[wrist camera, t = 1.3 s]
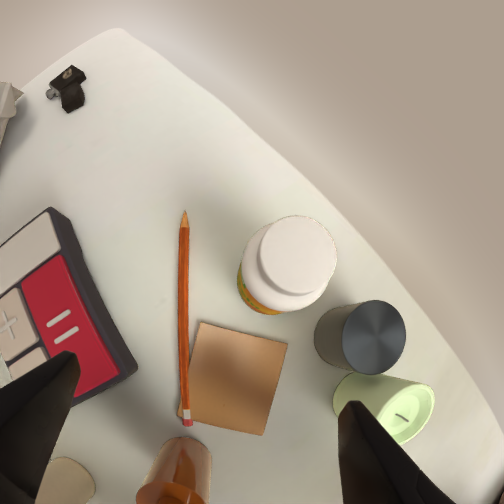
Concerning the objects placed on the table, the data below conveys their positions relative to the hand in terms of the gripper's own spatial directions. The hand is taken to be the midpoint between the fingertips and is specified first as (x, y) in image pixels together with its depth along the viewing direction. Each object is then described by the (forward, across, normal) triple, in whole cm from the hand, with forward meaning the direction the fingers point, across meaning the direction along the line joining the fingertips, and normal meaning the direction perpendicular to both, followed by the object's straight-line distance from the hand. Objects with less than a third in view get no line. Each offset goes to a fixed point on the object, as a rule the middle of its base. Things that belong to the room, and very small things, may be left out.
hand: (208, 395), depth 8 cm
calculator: (+11, +15, +10) cm, 21 cm away
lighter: (+28, +22, -12) cm, 37 cm away
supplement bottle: (+15, -3, +4) cm, 16 cm away
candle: (+10, -12, +11) cm, 19 cm away
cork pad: (+10, -1, +11) cm, 15 cm away
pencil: (+13, +3, +8) cm, 15 cm away
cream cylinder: (+1, +12, +22) cm, 25 cm away
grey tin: (+13, -10, +7) cm, 18 cm away
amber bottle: (+5, +1, +17) cm, 17 cm away
